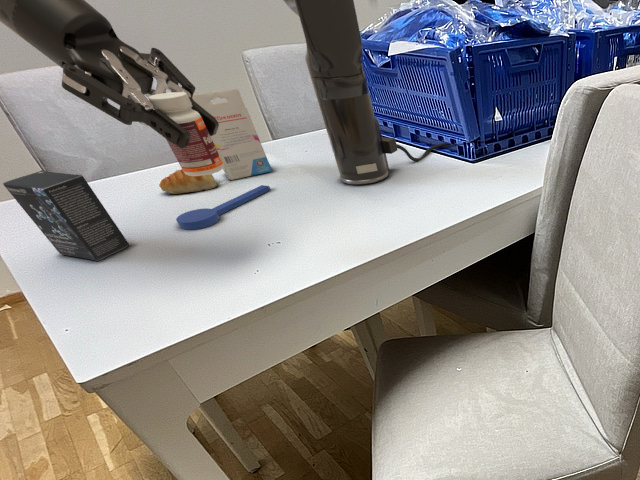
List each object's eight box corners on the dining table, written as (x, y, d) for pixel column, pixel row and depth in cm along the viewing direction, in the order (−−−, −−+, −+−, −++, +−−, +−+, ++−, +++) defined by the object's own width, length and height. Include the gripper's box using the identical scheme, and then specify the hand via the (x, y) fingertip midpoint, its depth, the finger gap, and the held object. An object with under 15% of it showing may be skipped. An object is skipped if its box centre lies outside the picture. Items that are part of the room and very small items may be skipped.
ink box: (267, 166, 97) (234, 84, 87) (273, 171, 94) (239, 88, 84) (224, 174, 94) (185, 90, 83) (229, 180, 91) (189, 94, 80)
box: (59, 255, 68) (0, 182, 60) (95, 240, 71) (43, 169, 64) (97, 262, 66) (40, 187, 58) (132, 245, 70) (83, 173, 62)
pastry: (167, 199, 84) (154, 177, 81) (161, 190, 88) (149, 169, 85) (220, 187, 88) (210, 166, 85) (213, 179, 92) (203, 158, 89)
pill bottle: (228, 171, 58) (192, 95, 52) (187, 179, 56) (145, 101, 50) (221, 162, 61) (187, 89, 55) (182, 169, 59) (142, 94, 53)
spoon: (255, 188, 87) (252, 181, 86) (279, 191, 86) (277, 184, 85) (171, 227, 74) (167, 220, 74) (199, 231, 73) (195, 224, 72)
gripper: (-27, -23, 41) (167, 127, 48) (100, -26, 51) (245, 98, 58) (-25, 49, 45) (154, 177, 53) (92, 33, 56) (228, 143, 63)
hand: (201, 135), depth 55 cm, fingers closed on pill bottle, 4 cm apart
